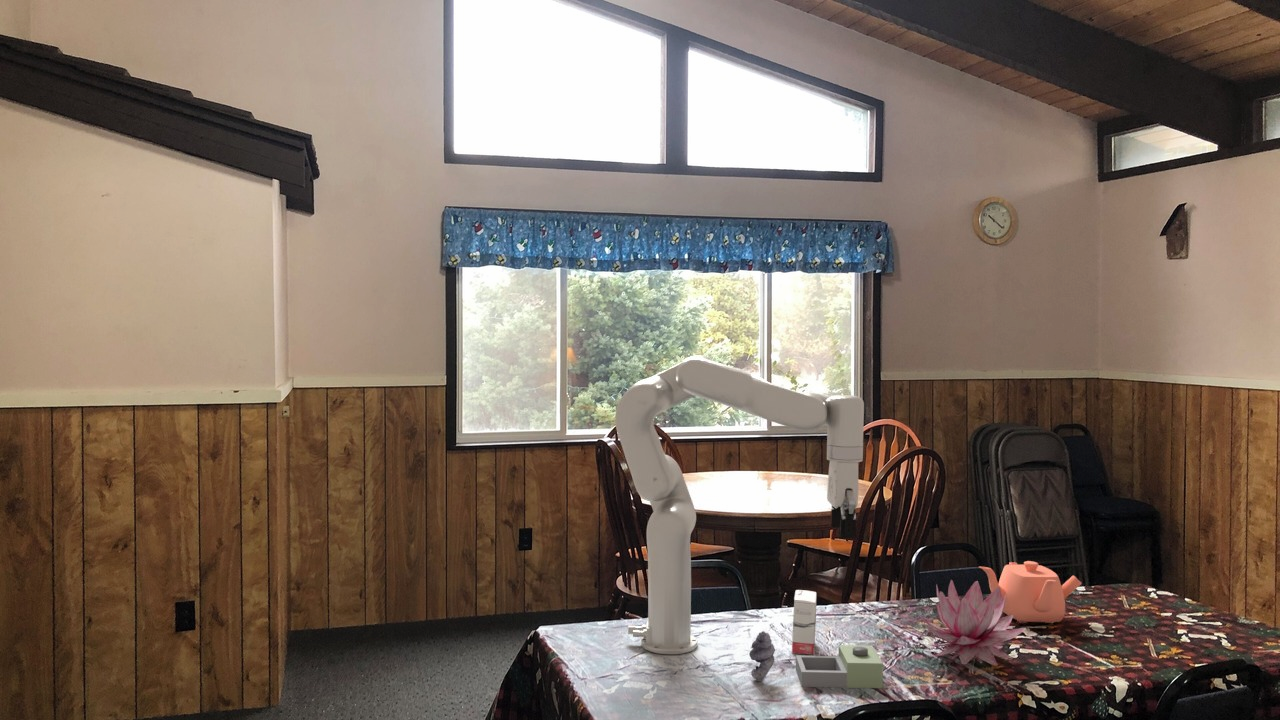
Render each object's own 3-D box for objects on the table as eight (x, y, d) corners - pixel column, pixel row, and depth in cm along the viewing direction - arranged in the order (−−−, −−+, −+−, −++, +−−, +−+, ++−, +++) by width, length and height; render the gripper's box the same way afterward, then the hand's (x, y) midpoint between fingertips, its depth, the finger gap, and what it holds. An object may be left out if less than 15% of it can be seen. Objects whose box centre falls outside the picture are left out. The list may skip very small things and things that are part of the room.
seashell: (746, 675, 190) (747, 627, 190) (772, 674, 191) (773, 626, 190) (751, 685, 185) (752, 636, 185) (778, 685, 186) (779, 635, 185)
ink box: (815, 655, 202) (816, 601, 201) (791, 653, 203) (792, 600, 202) (815, 642, 210) (816, 590, 210) (793, 640, 211) (794, 588, 211)
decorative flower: (946, 633, 216) (947, 569, 216) (1039, 657, 201) (1040, 589, 200) (899, 656, 201) (900, 588, 201) (995, 685, 186) (996, 610, 185)
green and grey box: (801, 686, 185) (801, 657, 184) (795, 667, 195) (795, 639, 194) (882, 688, 184) (883, 658, 184) (872, 669, 194) (872, 640, 194)
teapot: (1053, 636, 215) (1055, 577, 214) (977, 617, 228) (978, 562, 227) (1083, 618, 228) (1084, 562, 227) (1008, 601, 241) (1010, 549, 240)
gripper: (819, 447, 207) (818, 523, 208) (835, 459, 190) (833, 542, 191) (853, 447, 207) (851, 523, 208) (871, 459, 190) (869, 542, 191)
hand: (842, 532), depth 199 cm, fingers open, 9 cm apart
